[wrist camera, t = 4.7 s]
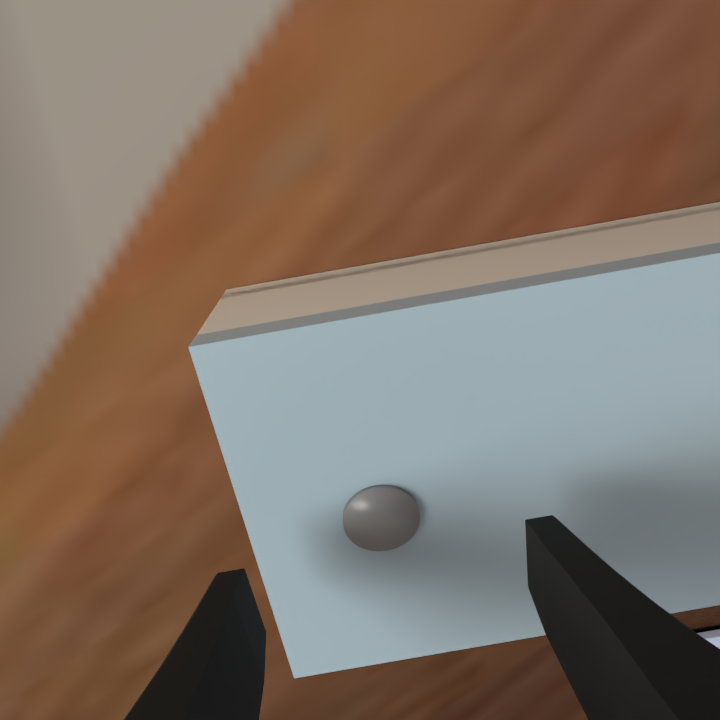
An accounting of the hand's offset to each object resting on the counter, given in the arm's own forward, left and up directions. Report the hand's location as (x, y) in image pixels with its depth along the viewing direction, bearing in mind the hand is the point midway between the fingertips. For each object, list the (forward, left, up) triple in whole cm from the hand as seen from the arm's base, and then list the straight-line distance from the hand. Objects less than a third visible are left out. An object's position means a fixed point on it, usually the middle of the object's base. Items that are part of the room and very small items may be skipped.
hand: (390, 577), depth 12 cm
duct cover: (-5, 0, -3) cm, 6 cm away
